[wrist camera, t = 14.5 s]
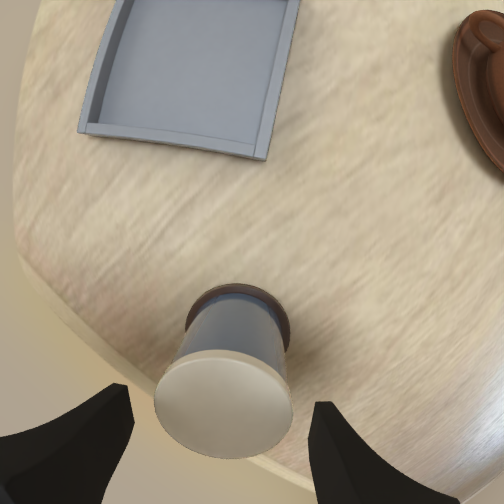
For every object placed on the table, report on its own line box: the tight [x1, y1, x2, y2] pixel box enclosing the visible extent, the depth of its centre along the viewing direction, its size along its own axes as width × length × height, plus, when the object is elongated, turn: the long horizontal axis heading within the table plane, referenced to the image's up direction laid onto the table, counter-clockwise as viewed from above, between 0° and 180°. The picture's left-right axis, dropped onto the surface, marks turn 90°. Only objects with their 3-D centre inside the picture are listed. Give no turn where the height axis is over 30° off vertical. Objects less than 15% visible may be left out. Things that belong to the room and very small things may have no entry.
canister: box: [154, 293, 293, 459], centre depth 15 cm, size 5×5×7 cm
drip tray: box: [77, 0, 300, 161], centre depth 14 cm, size 10×10×2 cm
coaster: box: [185, 284, 290, 353], centre depth 18 cm, size 6×6×1 cm
